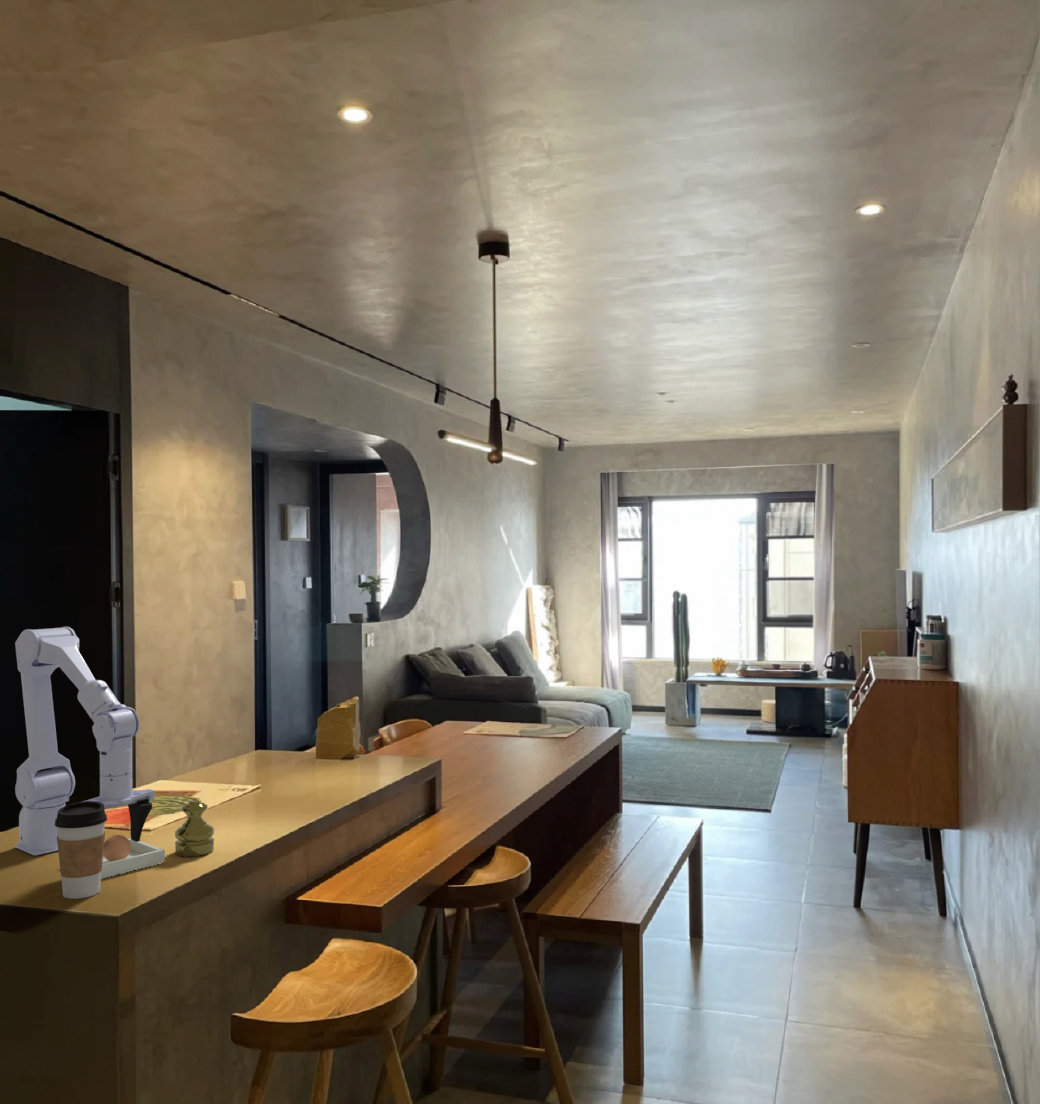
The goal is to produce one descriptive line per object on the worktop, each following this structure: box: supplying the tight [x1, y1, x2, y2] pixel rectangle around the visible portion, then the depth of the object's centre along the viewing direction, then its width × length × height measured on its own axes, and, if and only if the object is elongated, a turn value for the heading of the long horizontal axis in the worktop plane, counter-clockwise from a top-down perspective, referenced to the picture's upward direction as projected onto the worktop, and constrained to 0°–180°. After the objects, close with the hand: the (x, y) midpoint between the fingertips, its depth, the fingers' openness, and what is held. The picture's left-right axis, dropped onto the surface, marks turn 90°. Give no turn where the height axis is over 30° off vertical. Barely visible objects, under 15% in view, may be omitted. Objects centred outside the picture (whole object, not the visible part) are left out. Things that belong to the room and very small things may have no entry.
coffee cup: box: [55, 800, 108, 900], centre depth 175 cm, size 8×8×15 cm
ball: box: [103, 834, 131, 862], centre depth 191 cm, size 5×5×5 cm
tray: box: [101, 837, 166, 880], centre depth 191 cm, size 13×13×2 cm
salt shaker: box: [174, 799, 215, 858], centre depth 199 cm, size 7×7×10 cm
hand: (116, 845), depth 192 cm, fingers open, 7 cm apart
